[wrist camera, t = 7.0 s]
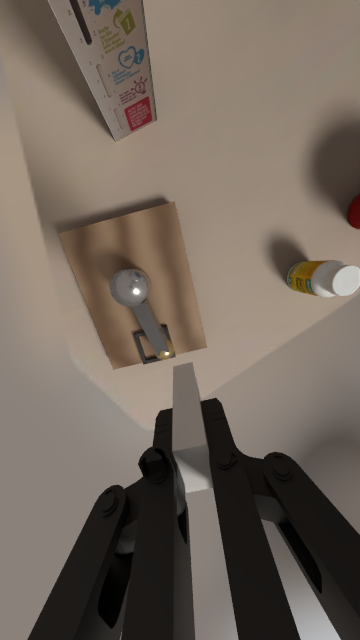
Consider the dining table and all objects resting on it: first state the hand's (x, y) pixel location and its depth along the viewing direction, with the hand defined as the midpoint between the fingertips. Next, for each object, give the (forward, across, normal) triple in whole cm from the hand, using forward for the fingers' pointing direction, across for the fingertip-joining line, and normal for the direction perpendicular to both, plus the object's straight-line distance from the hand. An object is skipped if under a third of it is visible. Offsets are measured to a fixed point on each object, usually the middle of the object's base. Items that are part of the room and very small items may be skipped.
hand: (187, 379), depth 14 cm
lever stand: (+21, -6, +5) cm, 23 cm away
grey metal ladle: (+18, -5, +2) cm, 19 cm away
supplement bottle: (+22, +23, +1) cm, 31 cm away
